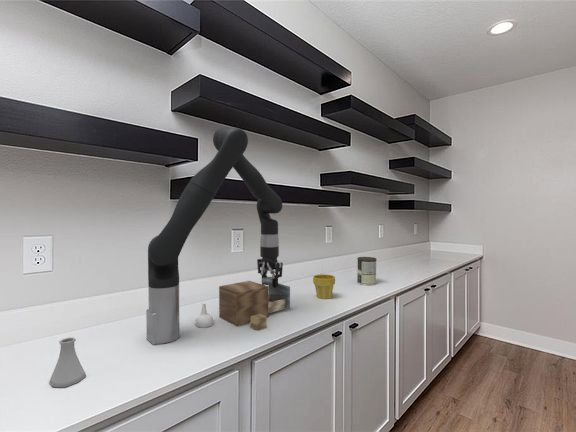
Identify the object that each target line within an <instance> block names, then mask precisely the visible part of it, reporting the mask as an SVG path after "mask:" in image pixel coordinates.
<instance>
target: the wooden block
mask: <svg viewBox="0 0 576 432" xmlns="http://www.w3.org/2000/svg"><path fill="white" fill-rule="evenodd" d="M267 319H268V318H267V317H266V316H264V315H262V314H257V315H253V316H251V323H250V328H251V329H253V330H255V331H257V332H258V331H261V330H264V329H267V326H268V325H267V322H268V321H267Z"/></svg>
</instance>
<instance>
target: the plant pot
mask: <svg viewBox="0 0 576 432" xmlns="http://www.w3.org/2000/svg"><path fill="white" fill-rule="evenodd" d="M312 283H313V285H314V287H315V292H316V297H317V298H318V299H322V300H323V299H324V300H326V299H331V298H332V296H333V290H334V285H335V284H336V276H335V275H331V274H325V273H324V274H315V275H313V276H312Z"/></svg>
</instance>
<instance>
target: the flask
mask: <svg viewBox="0 0 576 432" xmlns="http://www.w3.org/2000/svg"><path fill="white" fill-rule="evenodd" d="M76 341H77V338H76V337H72V336H71V337H69V336H68V337H65V338H62V339H60V340H59V341H58V342H59V345H60V351H59V356H58V358H57V362H56V365H55V367H54V369H53V372H52V374H51V376H50V378H49V385H50V386H51V387H52V388H66V387H69V386H72V385H75V384H77V383H79V382H81V381H82V380H83V379H84V378H86V377H87V374H86V372H85V370H84V367H83V366H82V364H81V362H80V360H79V357H78V355H77V352H76V347H75V342H76Z"/></svg>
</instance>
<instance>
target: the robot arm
mask: <svg viewBox="0 0 576 432" xmlns="http://www.w3.org/2000/svg"><path fill="white" fill-rule="evenodd" d="M212 143H213V145H214V148H215V149H216V150H217V153H216V154H215V155H214V157H213V158H212V159H211V161H210V162H209V163H208V164H207V165H205V166H204V167H203V168H201V169H200V170H199V171H198V172H197V173H195V174H194V175H193V176H192V177H191V179H190V180H189V181H188V183H187V185H186V186H185V188H184V190H183V191H182V193H181V194H180V197H179V199H178V201H177V203H176V205H175V207H174V210H173V213H172V215H171V217H170V218H169V220H168V222H167V223H166V225H165V226H164V227H163V229H162V230H161V232H160V233H159V234H158V235H156V236H155V237H153V238H152V239H151V240H150V241H149V244H148V246H147V276H148V277H147V279H148V280H147V281H148V282H147V283H148V308H147V309H146V314H145V315H146V318H145V319H146V340H147V341H149V342H150V343H151V344H152V345H159V344H161V345H162V344H169V343H171V342H174V341H176V340H178V339H179V338H180V335H181V332H180V329H181V328H180V273H179V272H180V270H179V256H180V254H181V252H182V249H183V248H184V245H185V243H186V241H187V239H188V237H189V236H190V233H191V232H192V230H193V229H194V227H195V225H196V224H197V223H198V222H199V221H200V219H201V218H202V216H203V215H204V214H205V212H206V210H207V209H208V207H209V206H210V205H211V202H213V200H214V198H215V196H216V194H217V193H218V190H219V189H220V187H221V186H222V185H223V183H224V181H225V179H226V178H227V176H228V175H229V173H230V171H231V170H232V169H234V170H235V172H236V173H237V174H238V175H239V177H240V178H241V179H242V181H243V183H244V184H245V186H246V188H247V189H248V190H249V192H250V193H251V194H252V196H253V197H254V198H256V199H257V202H256V210H257V215H258V220H259V223H260V243H259V245H260V246H259V247H260V249H259V250H260V251H259V252H260V253H259V254H260V257H261V258H257V260H256V262H257V263H256V264H257V265H256V266H257V273H258V274H260V275H261V279H262V278H263V277H268V275H267V274H268V272H269V273H270V274H271V277H273V279H272V287H273V288H277V287H278V283H279V278H282V277H283V269H284V267H283V266H284V265H283V262H279V261H278V258H279V256H280V251H279V250H280V248H279V247H280V239H279V222H278V220H277V219H273V218H271V215H270V214H279V213H280V212H281V211H282V209H283V201H282V199H281V197H280V196H279V195H278V194H277V193H276V191H274V190H273V189H272V187H270V186H269V185H268V183H267V181H266V179H265V178H264V177H263V174H261V173H260V171H259V170H258V169H257V168H256V167H255V165H253V164H252V163H251V162H250V161H249V159H247V157H245V155H244V153H245V152H246V149H247V147H248V144H249V137H248V134H247V133H246V131H244V129H242V128H239V127H229V126H227V127H225V126H223V127H219V128H218V129H216V130H215V132H214V133H213V136H212ZM261 284H262V283H261ZM262 285H263V284H262Z"/></svg>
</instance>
